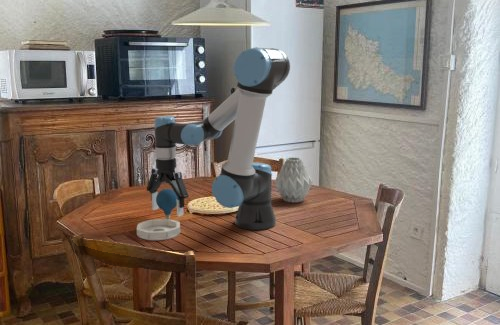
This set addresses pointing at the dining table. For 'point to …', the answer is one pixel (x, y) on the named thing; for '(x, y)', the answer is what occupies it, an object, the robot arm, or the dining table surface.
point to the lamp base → (158, 229)
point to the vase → (293, 180)
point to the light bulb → (166, 201)
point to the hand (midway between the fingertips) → (167, 212)
